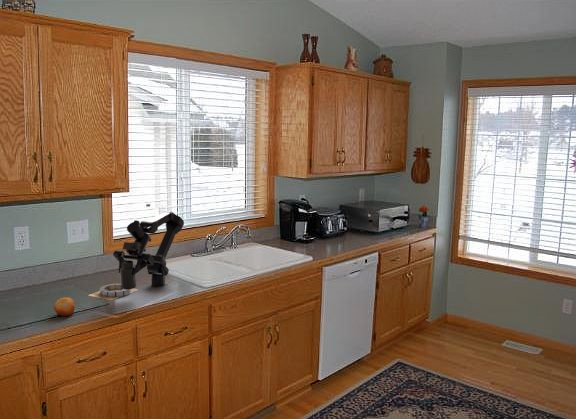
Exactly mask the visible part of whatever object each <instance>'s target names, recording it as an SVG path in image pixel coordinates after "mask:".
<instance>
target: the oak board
mask: <svg viewBox="0 0 576 419" xmlns="http://www.w3.org/2000/svg"><path fill="white" fill-rule="evenodd" d="M110 291H119V290H110ZM136 291H139V289H137V288H134V289H131V292H130V294H131V293H135V292H136ZM87 296H88V297H94V298H98V299H103V300H107V301H113V300H115V299H118V298H120V297H103V296H101V295H100V290H99V291H96V292H94V293H91V294H88V295H87Z"/></svg>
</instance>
